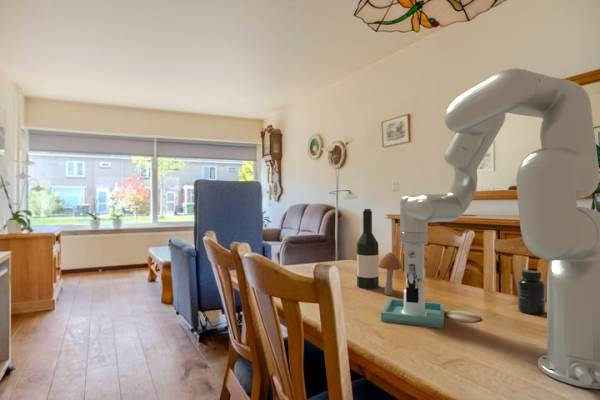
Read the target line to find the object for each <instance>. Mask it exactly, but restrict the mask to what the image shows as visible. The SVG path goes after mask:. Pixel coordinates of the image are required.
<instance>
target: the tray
mask: <svg viewBox="0 0 600 400" xmlns="http://www.w3.org/2000/svg"><path fill="white" fill-rule="evenodd" d="M403 309H404V299H399V298H391V297H390V298H389V299H388V301H387V302H386V304H385V306H384V307H383V309H382V311H381V312H380V314H381V315H380V321H381V322H389V323H396V324H397V323H398V324H404V325H415V326H423V327H431V328H440V329H444V326H445V325H444V323H445V303H443V302H441V303H439V302H432V301H431V302H430V301H425V312H426V313H427V316H419V315H410V314H402V313H401V311H402V310H403Z"/></svg>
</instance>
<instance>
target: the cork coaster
mask: <svg viewBox="0 0 600 400" xmlns="http://www.w3.org/2000/svg"><path fill="white" fill-rule="evenodd" d="M445 317H447V318H448V319H450V320H451V321H452V320H453V321H457V322H464V323H477V322H480V321H481V320H482V318H481V316H480V315H479V314H477V313H474V312H471V311H464V310H449V311H447V312H446V313H445Z"/></svg>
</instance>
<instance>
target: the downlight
mask: <svg viewBox="0 0 600 400" xmlns="http://www.w3.org/2000/svg"><path fill="white" fill-rule="evenodd" d="M405 279H406V278H405ZM405 282H406V283H405V284H406V285H405V286H406V287H407V279H406V281H405ZM417 288H418V294H419V301H418V303H411V302H407V301H406V288H405V289H404V290H403V300H404V309H403V310H402V311H401V313H402V314H410V315H419V316H427V313H426V312H425V302H426V291H424V279H423V280H421V279H418V286H417Z"/></svg>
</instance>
